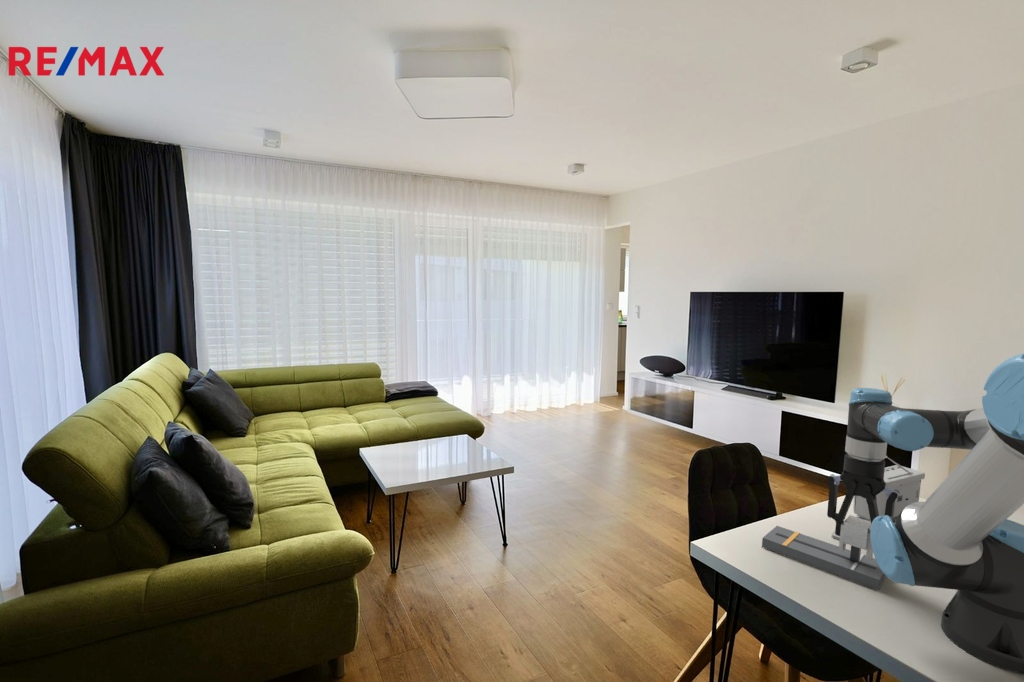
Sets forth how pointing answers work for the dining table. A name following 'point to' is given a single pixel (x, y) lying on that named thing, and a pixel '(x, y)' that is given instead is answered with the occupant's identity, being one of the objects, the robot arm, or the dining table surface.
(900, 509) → the stereo radio cassette player
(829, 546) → the fader board
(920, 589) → the dining table surface
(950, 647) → the dining table surface
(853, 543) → the cap
